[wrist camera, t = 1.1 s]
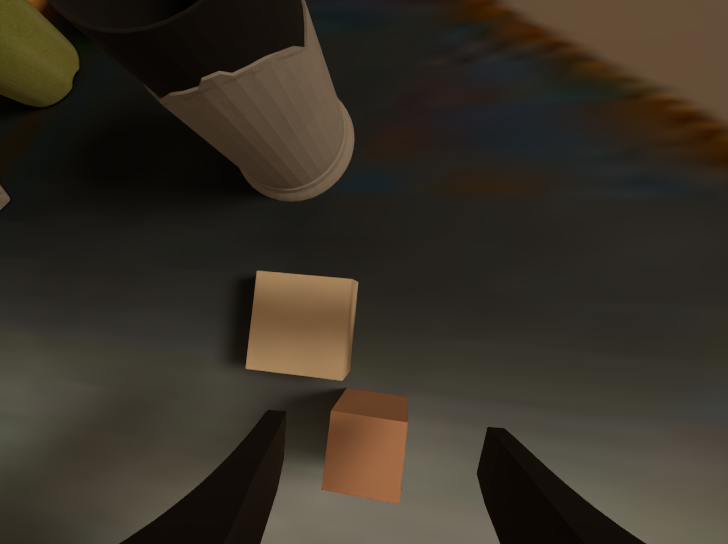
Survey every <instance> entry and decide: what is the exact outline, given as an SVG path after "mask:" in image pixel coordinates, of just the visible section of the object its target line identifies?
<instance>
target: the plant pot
mask: <svg viewBox="0 0 728 544" xmlns="http://www.w3.org/2000/svg"><path fill="white" fill-rule="evenodd" d="M78 70H79V58H78V54H77V52H76V50H75V48H74V47H73V45H72V44H71V43H70V42H69V41H68V40H67V39H66V38H65V37H64V36H63V35H62V34H61V33H60V32H59V31H58V30H57V29H56V28H55V27H54V26H53V25H52V24H51V23H50V22H49V21H48V20H47V19H46V18H45V17H44V16H43V15H42V14H41V13H40V12H39V11H38V10H37V9H36V8H35V7H34V6H33V5H32V4H31V3H30V2H29V1H28V0H0V94H1V95H3V96H6V97H8V98H11V99H13V100H16V101H18V102H20V103H23V104H26V105H30V106H36V107H46V106H50V105H52V104H54V103H56V102H58V101H60V100H61V99H62V98H64V97H65V96H66V95H67V94H68V93H69V92H70V90H71V89H72V81H73V77H74V75H75V73H76V72H77V71H78Z"/></svg>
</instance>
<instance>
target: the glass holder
mask: <svg viewBox="0 0 728 544" xmlns="http://www.w3.org/2000/svg"><path fill="white" fill-rule="evenodd" d="M47 1H48V2H49V3H50V4H51V5H52V7H53V8H54V9H55V10H56V11H57V12H59V13H60V14H61V15H62V16H63V17H65V18H66V19H67V20H68V21H69V22H70V23H72V24H73V25H74V26H75V27H76V28H78V29H79V30H80V31H81V32H82V33H84V34H85V35H86V36H87V37H88V38H90V39H91V40H92V41H93V42H94V43H96V44H97V45H98V46H99V47H100V48H101V49H103V50H104V51H105V52H106V53H107V54H109V55H110V56H111V57H112V58H113V59H115V60H116V61H117V62H118V63H119V64H121V65H122V66H123V67H124V68H125V69H126V70H128V71H129V72H130V73H131V74H132V75H134V76H135V77H136V78H137V79H138V80H140V81H141V82H142V83H143V85H144V86H145V87H146V89H147V90H148V91H149V92H150V93H151V94H152V95H153V96H154V97H155V98H156V99H157V100H158V101H159V102H160V103H161V104H162V105H163V106H164V107H166V108H167V109H168V110H169V111H170V112H172V113H173V114H174V115H175V116H177V117H178V118H179V119H180V120H181V121H183V122H184V123H185V124H186V125H188V126H189V127H190V128H191V129H192V130H194V131H195V132H196V133H197V134H199V135H200V136H201V137H202V138H203V139H205V140H206V141H207V142H208V143H210V144H211V145H212V146H213V147H214V148H216V149H217V150H218V151H219V152H221V153H222V154H223V155H224V156H225V157H227V158H228V159H229V160H230V161H232V162H233V163H234V164H235V165H236V166H238V167H239V168H240V170H241V172H242V174H243V175H244V177H245V179H246V180H247V181H248V182H249V183H250V184H251V186H252V187H253V188H255V189H256V190H257V191H259V192H260V193H261V194H263V195H265V196H267V197H269V198H272V199H276V200H279V201H289V202H292V201H302V200H306V199H310V198H313V197H315V196H317V195H319V194H321V193H323V192H324V191H326V190H327V189H329V188H330V187H331V186H332V185H333V184H334V183H336V182H337V181H338V180H339V178H340V177H341V176H342V174H343V173H344V172H345V170H346V168H347V166H348V164H349V162H350V159H351V156H352V153H353V147H354V129H353V125H352V120H351V118H350V116H349V114H348V111H347V110H346V108H345V107H344V105H343V104H342V102H341V101H340V100H339V99H338V98H337V96H336V93H335V90H334V87H333V84H332V81H331V78H330V75H329V72H328V69H327V66H326V63H325V60H324V57H323V54H322V51H321V48H320V45H319V42H318V39H317V36H316V33H315V30H314V27H313V24H312V21H311V18H310V15H309V12H308V9H307V6H306V3H305V0H47Z"/></svg>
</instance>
